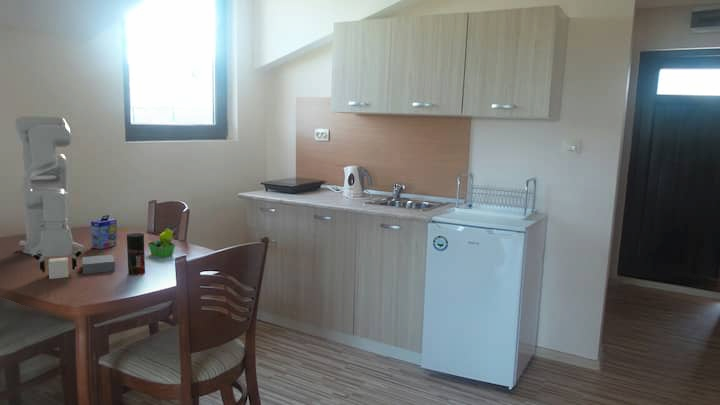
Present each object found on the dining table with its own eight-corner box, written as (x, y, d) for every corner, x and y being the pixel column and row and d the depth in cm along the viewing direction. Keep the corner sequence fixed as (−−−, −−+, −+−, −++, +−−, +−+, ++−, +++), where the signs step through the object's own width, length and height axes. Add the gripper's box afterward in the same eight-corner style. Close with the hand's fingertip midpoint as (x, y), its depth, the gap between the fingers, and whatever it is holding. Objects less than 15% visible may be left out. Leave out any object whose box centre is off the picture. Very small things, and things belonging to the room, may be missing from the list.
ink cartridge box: (100, 249, 233) (98, 217, 231) (91, 248, 235) (89, 216, 233) (118, 244, 242) (116, 214, 240) (109, 243, 244) (107, 212, 242)
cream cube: (49, 279, 191) (48, 263, 190) (50, 274, 197) (49, 258, 196) (68, 277, 194) (67, 261, 193) (68, 272, 199) (67, 257, 198)
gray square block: (83, 274, 199) (82, 264, 198) (82, 267, 208) (82, 257, 207) (115, 271, 204) (114, 261, 203) (113, 264, 213) (112, 254, 213)
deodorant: (134, 276, 197) (133, 237, 195) (124, 273, 200) (123, 235, 198) (148, 272, 202) (147, 234, 200) (138, 269, 205) (137, 232, 203)
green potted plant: (147, 254, 229) (146, 228, 227) (166, 250, 235) (165, 226, 233) (159, 259, 221) (158, 233, 219) (179, 255, 227) (178, 230, 226)
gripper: (27, 228, 185) (30, 275, 188) (82, 225, 193) (85, 270, 196) (29, 224, 191) (32, 270, 194) (82, 221, 199) (85, 265, 202)
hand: (58, 270), depth 195 cm, fingers open, 9 cm apart
